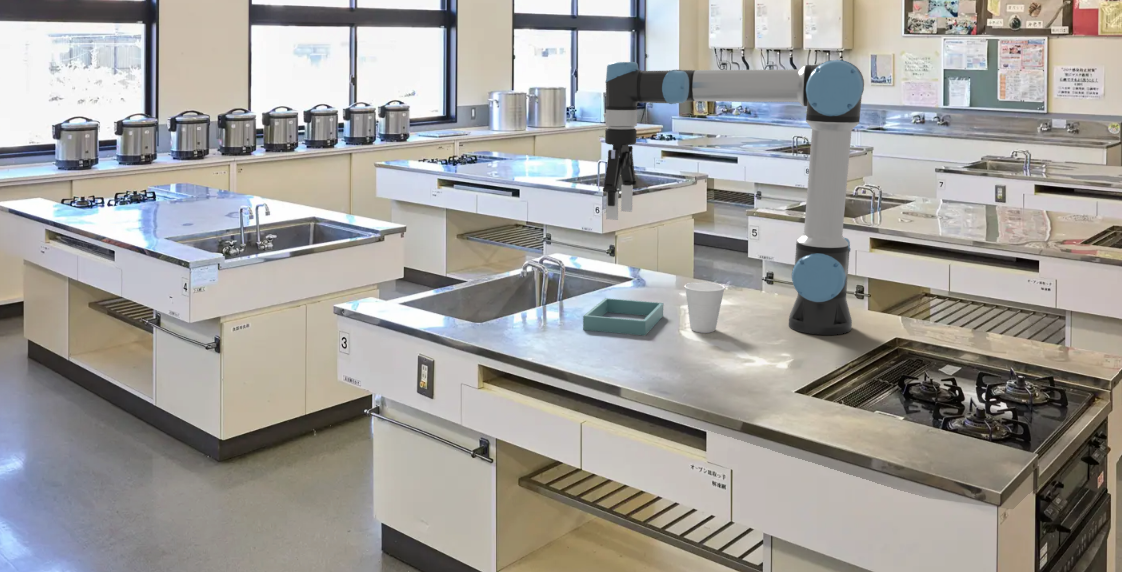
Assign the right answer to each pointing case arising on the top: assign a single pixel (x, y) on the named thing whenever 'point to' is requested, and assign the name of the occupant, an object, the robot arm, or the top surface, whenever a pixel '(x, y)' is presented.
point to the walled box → (619, 325)
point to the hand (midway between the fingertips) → (619, 215)
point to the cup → (703, 305)
